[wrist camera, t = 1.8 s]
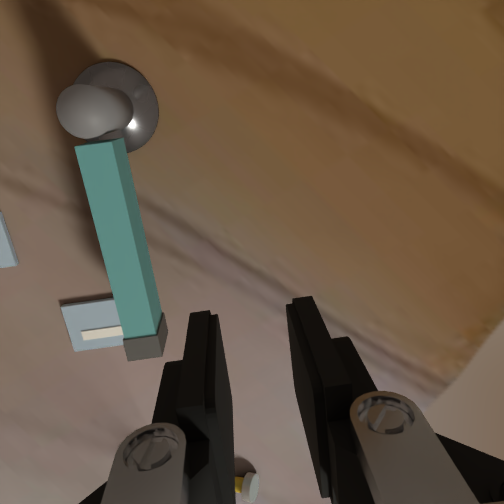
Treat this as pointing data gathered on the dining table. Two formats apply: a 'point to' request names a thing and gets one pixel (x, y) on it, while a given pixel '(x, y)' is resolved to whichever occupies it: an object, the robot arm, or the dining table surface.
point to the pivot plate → (138, 94)
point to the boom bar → (116, 212)
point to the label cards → (77, 309)
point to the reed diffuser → (247, 486)
